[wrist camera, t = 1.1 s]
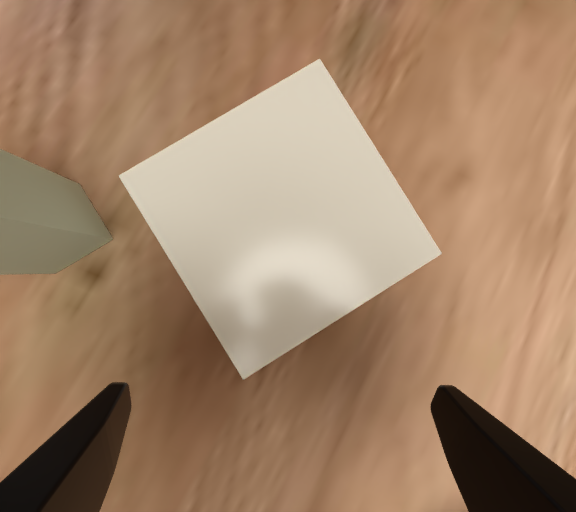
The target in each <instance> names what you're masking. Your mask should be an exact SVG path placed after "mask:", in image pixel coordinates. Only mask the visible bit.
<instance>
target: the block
mask: <svg viewBox="0 0 576 512" xmlns="http://www.w3.org/2000/svg"><path fill="white" fill-rule="evenodd" d="M111 240H113V238H112V236H111V234H110V233H109V231H108V230H107V228H106V226H105V225H104V223H103V221H102V220H101V218H100V216H99V215H98V213H97V211H96V210H95V208H94V207H93V205H92V203H91V202H90V200H89V198H88V197H87V195H86V193H85V192H84V190H83V188H82V187H81V185H80V184H79V183H76V182H74V181H72V180H70V179H67V178H65V177H63V176H61V175H58V174H56V173H54V172H51V171H49V170H47V169H45V168H42V167H40V166H38V165H36V164H33V163H31V162H29V161H27V160H24V159H22V158H20V157H18V156H15V155H13V154H11V153H9V152H6V151H4V150H2V149H0V274H56V273H57V272H59V271H61V270H63V269H64V268H66V267H68V266H69V265H71V264H73V263H74V262H76V261H78V260H79V259H81V258H83V257H84V256H86V255H88V254H89V253H91V252H93V251H95V250H96V249H98V248H100V247H101V246H103V245H105V244H106V243H108V242H110V241H111Z"/></svg>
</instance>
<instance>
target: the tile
mask: <svg viewBox="0 0 576 512" xmlns="http://www.w3.org/2000/svg"><path fill="white" fill-rule="evenodd" d="M119 177H120V179H121V181H122V182H123V184H124V186H125V187H126V189H127V190H128V192H129V194H130V195H131V197H132V199H133V200H134V202H135V204H136V205H137V207H138V208H139V210H140V212H141V213H142V215H143V217H144V218H145V220H146V222H147V223H148V225H149V226H150V228H151V230H152V231H153V233H154V235H155V236H156V238H157V240H158V241H159V243H160V244H161V246H162V248H163V249H164V251H165V253H166V254H167V256H168V258H169V259H170V261H171V262H172V264H173V266H174V267H175V269H176V271H177V272H178V274H179V276H180V277H181V279H182V281H183V282H184V284H185V285H186V287H187V289H188V290H189V292H190V294H191V295H192V297H193V299H194V300H195V302H196V303H197V305H198V307H199V308H200V310H201V312H202V313H203V315H204V317H205V318H206V320H207V321H208V323H209V325H210V326H211V328H212V330H213V331H214V333H215V335H216V336H217V338H218V339H219V341H220V343H221V344H222V346H223V348H224V349H225V351H226V353H227V354H228V356H229V357H230V359H231V361H232V362H233V364H234V366H235V367H236V369H237V371H238V372H239V374H240V375H241V377H242V379H243V380H244V379H245V378H247V377H248V376H250V375H252V374H253V373H255V372H256V371H258V370H259V369H261V368H263V367H264V366H266V365H267V364H269V363H270V362H272V361H274V360H275V359H277V358H278V357H280V356H281V355H283V354H285V353H286V352H288V351H289V350H291V349H292V348H294V347H296V346H297V345H299V344H300V343H302V342H304V341H305V340H307V339H308V338H310V337H311V336H313V335H315V334H316V333H318V332H319V331H321V330H322V329H324V328H326V327H327V326H329V325H330V324H332V323H333V322H335V321H337V320H338V319H340V318H341V317H343V316H344V315H346V314H348V313H349V312H351V311H352V310H354V309H355V308H357V307H359V306H360V305H362V304H363V303H365V302H366V301H368V300H370V299H371V298H373V297H374V296H376V295H378V294H379V293H381V292H382V291H384V290H385V289H387V288H389V287H390V286H392V285H393V284H395V283H396V282H398V281H400V280H401V279H403V278H404V277H406V276H407V275H409V274H411V273H412V272H414V271H415V270H417V269H418V268H420V267H422V266H423V265H425V264H426V263H428V262H429V261H431V260H433V259H434V258H436V257H437V256H439V255H440V254H442V253H441V251H440V250H439V248H438V246H437V245H436V243H435V242H434V240H433V239H432V237H431V235H430V234H429V232H428V231H427V229H426V227H425V226H424V224H423V223H422V221H421V219H420V218H419V216H418V215H417V213H416V211H415V210H414V208H413V207H412V205H411V203H410V202H409V200H408V199H407V197H406V195H405V194H404V192H403V191H402V189H401V187H400V186H399V184H398V183H397V181H396V179H395V178H394V176H393V175H392V173H391V172H390V170H389V168H388V167H387V165H386V164H385V162H384V160H383V159H382V157H381V156H380V154H379V152H378V151H377V149H376V148H375V146H374V144H373V143H372V141H371V140H370V138H369V136H368V135H367V133H366V132H365V130H364V128H363V127H362V125H361V124H360V122H359V120H358V119H357V117H356V116H355V114H354V112H353V111H352V109H351V108H350V106H349V105H348V103H347V101H346V100H345V98H344V97H343V95H342V93H341V92H340V90H339V89H338V87H337V85H336V84H335V82H334V81H333V79H332V77H331V76H330V74H329V73H328V71H327V69H326V68H325V66H324V65H323V63H322V61H321V60H320V59H318V60H317V61H315V62H313V63H311V64H310V65H308V66H306V67H304V68H303V69H301V70H299V71H298V72H296V73H294V74H292V75H291V76H289V77H287V78H286V79H284V80H282V81H280V82H279V83H277V84H275V85H274V86H272V87H270V88H268V89H267V90H265V91H263V92H261V93H260V94H258V95H256V96H255V97H253V98H251V99H249V100H248V101H246V102H244V103H243V104H241V105H239V106H237V107H236V108H234V109H232V110H231V111H229V112H227V113H225V114H224V115H222V116H220V117H219V118H217V119H215V120H213V121H212V122H210V123H208V124H206V125H205V126H203V127H201V128H200V129H198V130H196V131H194V132H193V133H191V134H189V135H188V136H186V137H184V138H182V139H181V140H179V141H177V142H176V143H174V144H172V145H170V146H169V147H167V148H165V149H163V150H162V151H160V152H158V153H157V154H155V155H153V156H151V157H150V158H148V159H146V160H145V161H143V162H141V163H139V164H138V165H136V166H134V167H133V168H131V169H129V170H127V171H126V172H124V173H122V174H121V175H119Z"/></svg>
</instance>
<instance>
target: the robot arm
mask: <svg viewBox="0 0 576 512" xmlns="http://www.w3.org/2000/svg"><path fill="white" fill-rule="evenodd" d="M130 411H131V398H130V391H129V385H128V384H127V383H125V382H113V383H111V384H109V385H108V386H107V387H106V388H105V389H104V390H102V391H101V392H100V393H99V394H98V395H97V396H96V397H95V398H94V399H92V400H91V401H90V402H89V403H88V404H87V405H86V406H85V407H84V408H82V409H81V410H80V411H79V412H78V413H77V414H76V415H75V416H74V417H72V418H71V419H70V420H69V421H68V422H67V423H66V424H65V425H64V426H62V427H61V428H60V429H59V430H58V431H57V432H56V433H55V434H54V435H52V436H51V437H50V438H49V439H48V440H47V441H46V442H45V443H44V444H42V445H41V446H40V447H39V448H38V449H37V450H36V451H35V452H34V453H32V454H31V455H30V456H29V457H28V458H27V459H26V460H25V461H24V462H22V463H21V464H20V465H19V466H18V467H17V468H16V469H15V470H14V471H12V472H11V473H10V474H9V475H8V476H7V477H6V478H5V479H4V480H2V481H1V482H0V512H99V511H100V509H101V506H102V504H103V501H104V498H105V496H106V493H107V490H108V488H109V485H110V483H111V480H112V477H113V474H114V471H115V468H116V464H117V460H118V457H119V453H120V449H121V446H122V442H123V438H124V434H125V431H126V427H127V423H128V419H129V416H130ZM431 413H432V416H433V419H434V422H435V425H436V428H437V431H438V434H439V437H440V440H441V443H442V447H443V450H444V453H445V456H446V459H447V461H448V464H449V467H450V469H451V471H452V474H453V476H454V478H455V481H456V483H457V485H458V488H459V490H460V492H461V495H462V497H463V499H464V502H465V504H466V506H467V509H468V511H469V512H576V479H575V478H574V477H572V476H571V475H570V474H568V473H567V472H566V471H565V470H563V469H562V468H561V467H559V466H558V465H557V464H555V463H554V462H553V461H551V460H550V459H549V458H548V457H546V456H545V455H544V454H542V453H541V452H540V451H538V450H537V449H536V448H534V447H533V446H532V445H530V444H529V443H528V442H527V441H525V440H524V439H523V438H521V437H520V436H519V435H517V434H516V433H515V432H513V431H512V430H511V429H510V428H508V427H507V426H506V425H504V424H503V423H502V422H500V421H499V420H498V419H496V418H495V417H494V416H493V415H491V414H490V413H489V412H487V411H486V410H485V409H483V408H482V407H481V406H479V405H478V404H477V403H476V402H474V401H473V400H472V399H470V398H469V397H468V396H466V395H465V394H464V393H462V392H461V391H460V390H459V389H457V388H456V387H454V386H452V385H440V386H439V387H438V388H437V390H436V393H435V395H434V397H433V400H432V402H431Z"/></svg>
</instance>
